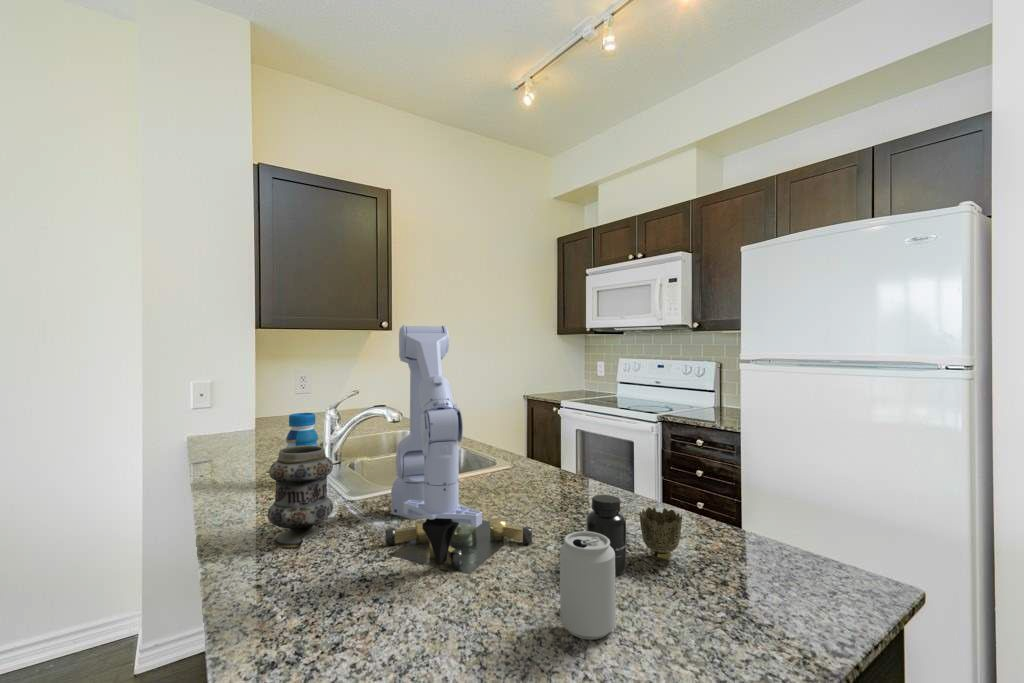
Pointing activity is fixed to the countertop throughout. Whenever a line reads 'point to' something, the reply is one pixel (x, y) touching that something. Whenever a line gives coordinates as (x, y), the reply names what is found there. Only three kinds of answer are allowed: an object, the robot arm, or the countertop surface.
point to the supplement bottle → (609, 526)
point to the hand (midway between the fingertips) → (441, 562)
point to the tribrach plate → (457, 548)
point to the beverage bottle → (302, 430)
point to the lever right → (509, 531)
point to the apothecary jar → (300, 493)
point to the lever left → (407, 534)
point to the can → (587, 585)
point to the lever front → (451, 557)
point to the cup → (660, 532)
